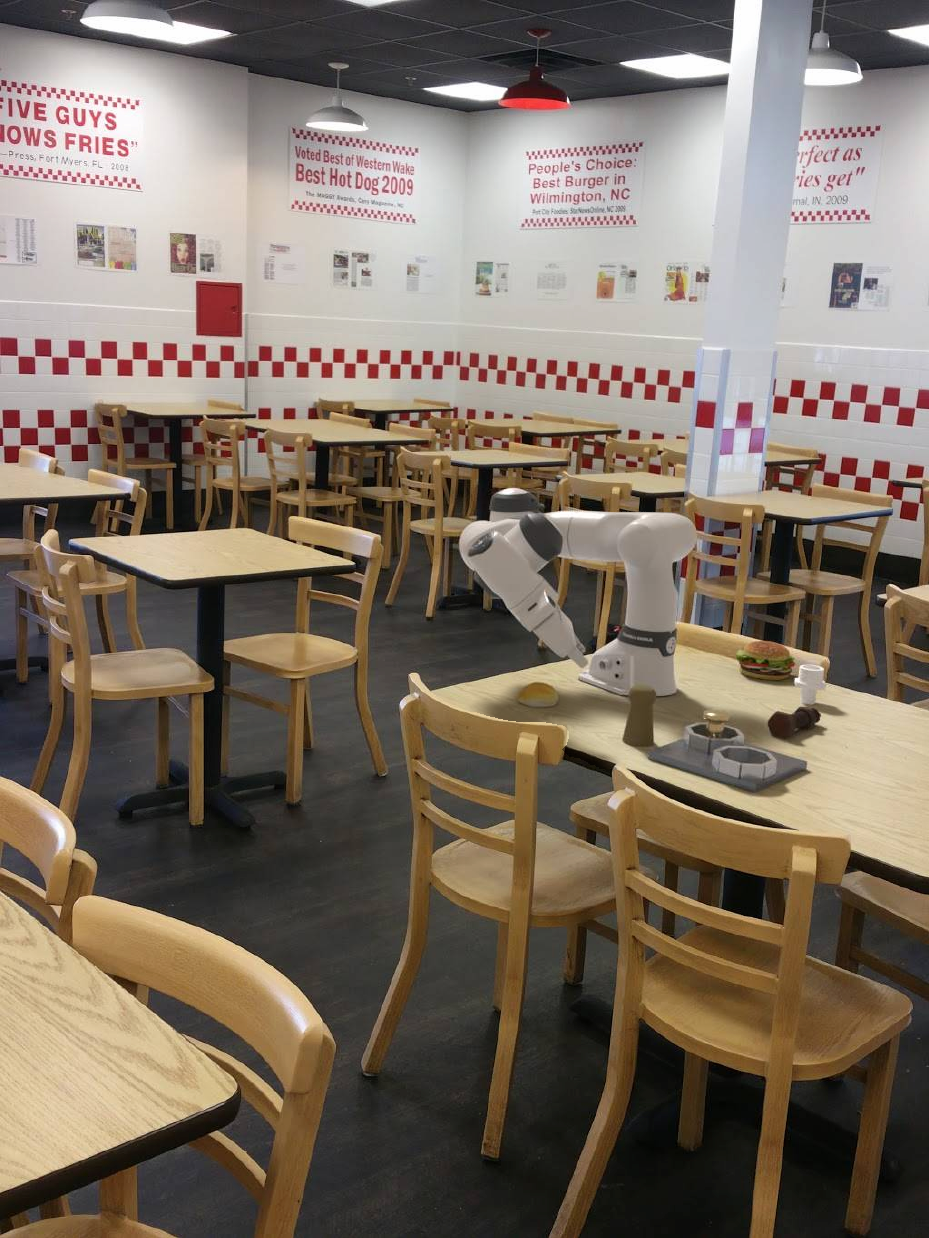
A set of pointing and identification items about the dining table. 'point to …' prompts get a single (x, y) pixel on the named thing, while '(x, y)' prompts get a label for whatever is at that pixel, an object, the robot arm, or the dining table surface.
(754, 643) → the food
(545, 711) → the dining table surface
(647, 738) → the cork
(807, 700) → the pipe fitting
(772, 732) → the bolt
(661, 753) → the bolt plate
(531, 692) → the bread roll
